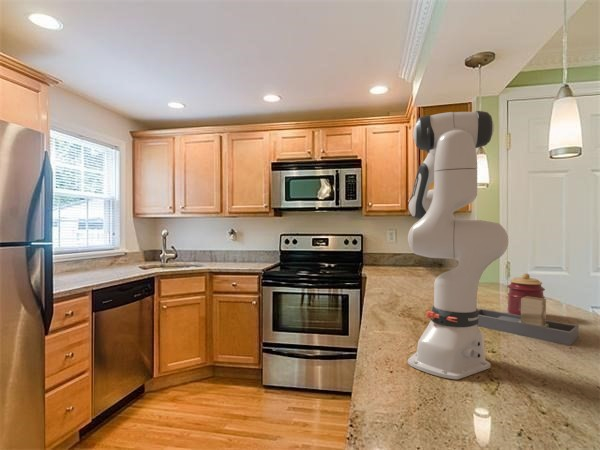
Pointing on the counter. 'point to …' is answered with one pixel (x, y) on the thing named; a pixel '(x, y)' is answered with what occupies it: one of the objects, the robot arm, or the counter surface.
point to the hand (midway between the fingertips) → (461, 257)
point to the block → (533, 311)
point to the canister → (522, 292)
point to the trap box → (528, 327)
